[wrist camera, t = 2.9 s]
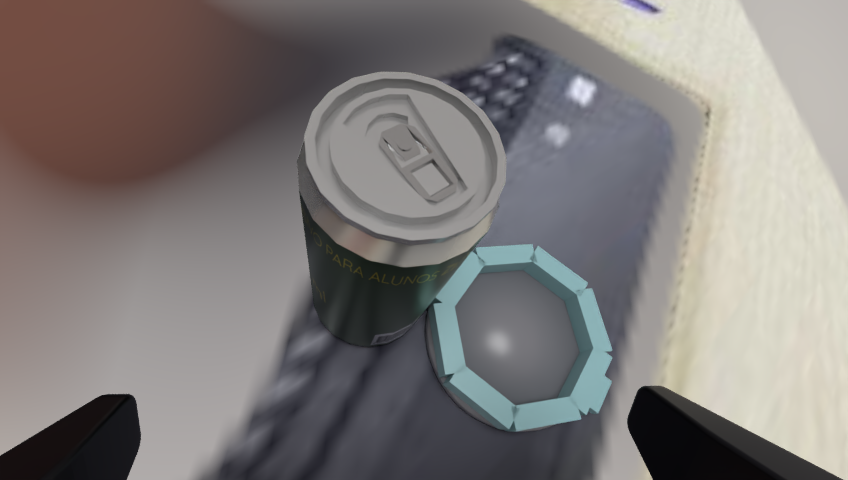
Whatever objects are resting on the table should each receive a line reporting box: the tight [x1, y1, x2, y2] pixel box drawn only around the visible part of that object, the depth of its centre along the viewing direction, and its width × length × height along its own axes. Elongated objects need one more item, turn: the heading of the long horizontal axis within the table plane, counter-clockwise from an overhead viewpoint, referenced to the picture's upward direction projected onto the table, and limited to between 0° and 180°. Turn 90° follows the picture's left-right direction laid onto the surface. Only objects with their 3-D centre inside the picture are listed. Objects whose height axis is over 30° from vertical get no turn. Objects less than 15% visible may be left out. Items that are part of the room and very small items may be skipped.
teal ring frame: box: [426, 244, 612, 431], centre depth 20 cm, size 9×10×2 cm
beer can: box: [297, 72, 506, 347], centre depth 15 cm, size 5×5×12 cm
